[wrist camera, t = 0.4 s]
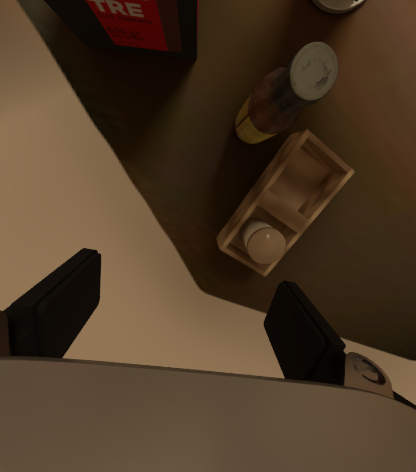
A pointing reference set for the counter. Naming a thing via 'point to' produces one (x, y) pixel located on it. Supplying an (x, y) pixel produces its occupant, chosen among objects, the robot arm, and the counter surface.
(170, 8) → the cleaning product box
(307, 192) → the caddy
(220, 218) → the counter surface
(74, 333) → the robot arm
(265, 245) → the jar
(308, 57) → the sauce bottle
